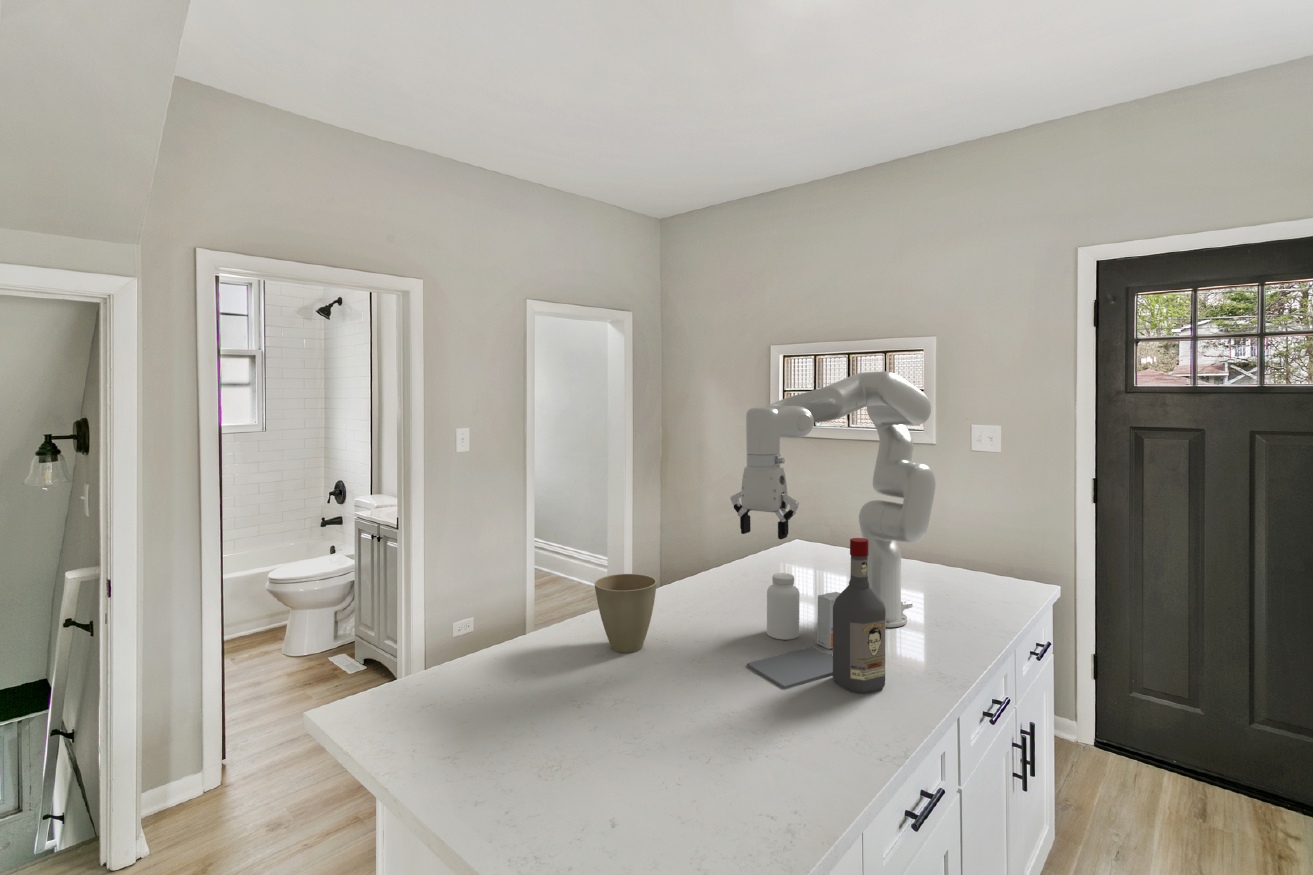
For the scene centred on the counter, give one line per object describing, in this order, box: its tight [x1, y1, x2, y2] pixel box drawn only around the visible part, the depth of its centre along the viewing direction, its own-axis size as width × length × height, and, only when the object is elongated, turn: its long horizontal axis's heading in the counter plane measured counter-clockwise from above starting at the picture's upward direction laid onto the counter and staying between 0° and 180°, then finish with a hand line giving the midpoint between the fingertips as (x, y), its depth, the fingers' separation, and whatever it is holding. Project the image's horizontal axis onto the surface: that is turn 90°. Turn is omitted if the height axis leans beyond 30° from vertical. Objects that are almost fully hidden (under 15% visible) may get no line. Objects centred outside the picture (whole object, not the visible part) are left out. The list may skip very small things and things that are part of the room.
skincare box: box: [816, 591, 841, 650], centre depth 153 cm, size 6×4×12 cm
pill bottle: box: [766, 572, 800, 641], centre depth 159 cm, size 8×8×15 cm
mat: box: [746, 646, 833, 690], centre depth 140 cm, size 19×13×1 cm
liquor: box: [832, 537, 887, 694], centre depth 131 cm, size 9×9×30 cm
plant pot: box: [594, 573, 658, 653], centre depth 153 cm, size 15×15×16 cm
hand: (763, 535), depth 147 cm, fingers open, 9 cm apart
